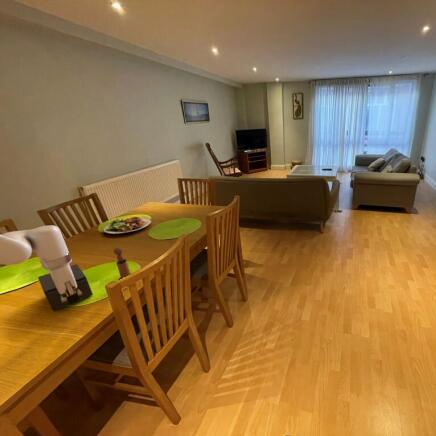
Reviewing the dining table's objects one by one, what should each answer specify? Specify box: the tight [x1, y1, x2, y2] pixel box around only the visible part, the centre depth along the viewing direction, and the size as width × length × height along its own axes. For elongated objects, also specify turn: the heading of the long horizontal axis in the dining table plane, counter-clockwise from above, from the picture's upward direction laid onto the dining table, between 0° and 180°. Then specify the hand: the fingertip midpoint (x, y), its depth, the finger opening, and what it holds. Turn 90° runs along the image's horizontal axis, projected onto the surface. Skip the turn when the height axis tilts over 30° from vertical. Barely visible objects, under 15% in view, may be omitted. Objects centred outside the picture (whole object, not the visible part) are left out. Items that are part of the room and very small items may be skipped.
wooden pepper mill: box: [113, 246, 132, 281], centre depth 107 cm, size 7×6×18 cm
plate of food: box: [103, 216, 152, 234], centre depth 165 cm, size 28×28×6 cm
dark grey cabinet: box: [37, 263, 93, 312], centre depth 100 cm, size 15×13×10 cm
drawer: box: [47, 279, 91, 311], centre depth 98 cm, size 18×11×8 cm, turn 51°
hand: (74, 301), depth 90 cm, fingers closed
